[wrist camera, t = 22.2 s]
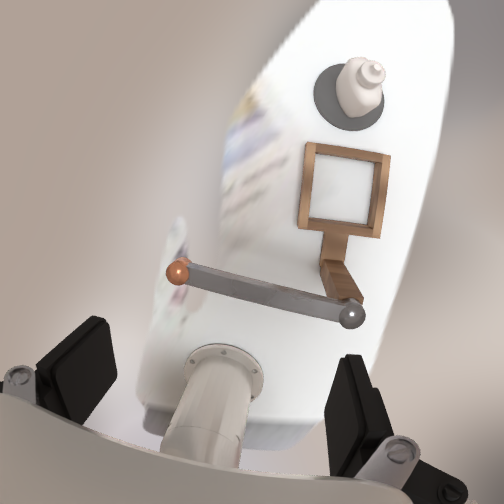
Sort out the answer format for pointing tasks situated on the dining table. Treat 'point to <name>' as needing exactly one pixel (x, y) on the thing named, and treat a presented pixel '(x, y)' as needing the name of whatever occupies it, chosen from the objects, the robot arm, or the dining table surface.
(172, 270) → the ball-tipped grey rod
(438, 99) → the dining table surface
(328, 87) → the mat
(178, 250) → the dining table surface
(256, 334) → the dining table surface
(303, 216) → the wooden frame with post
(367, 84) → the eye dropper bottle
